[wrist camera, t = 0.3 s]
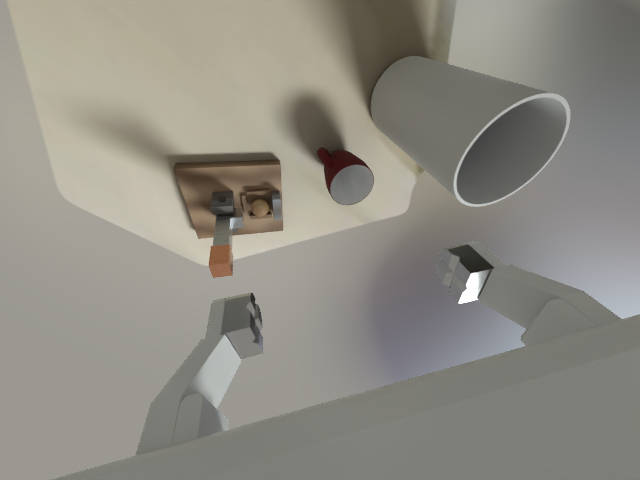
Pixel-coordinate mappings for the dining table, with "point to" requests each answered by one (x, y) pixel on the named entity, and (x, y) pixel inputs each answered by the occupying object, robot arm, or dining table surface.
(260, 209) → the walnut
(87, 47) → the dining table surface
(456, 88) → the cylinder vase
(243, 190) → the bench
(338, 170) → the mug
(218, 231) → the lever
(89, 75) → the dining table surface
